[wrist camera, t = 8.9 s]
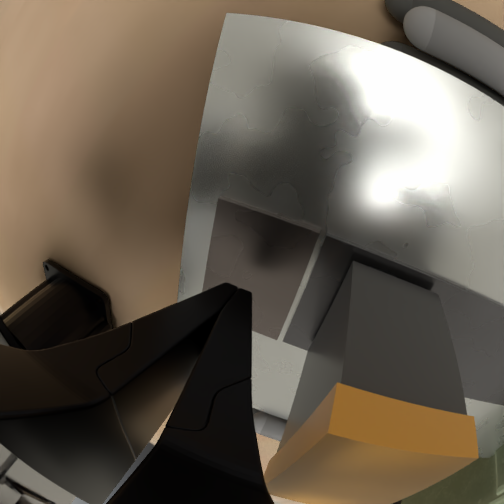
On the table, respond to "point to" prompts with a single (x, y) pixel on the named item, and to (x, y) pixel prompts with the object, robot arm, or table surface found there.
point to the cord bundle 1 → (453, 42)
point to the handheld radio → (467, 484)
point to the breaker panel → (347, 197)
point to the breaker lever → (375, 400)
